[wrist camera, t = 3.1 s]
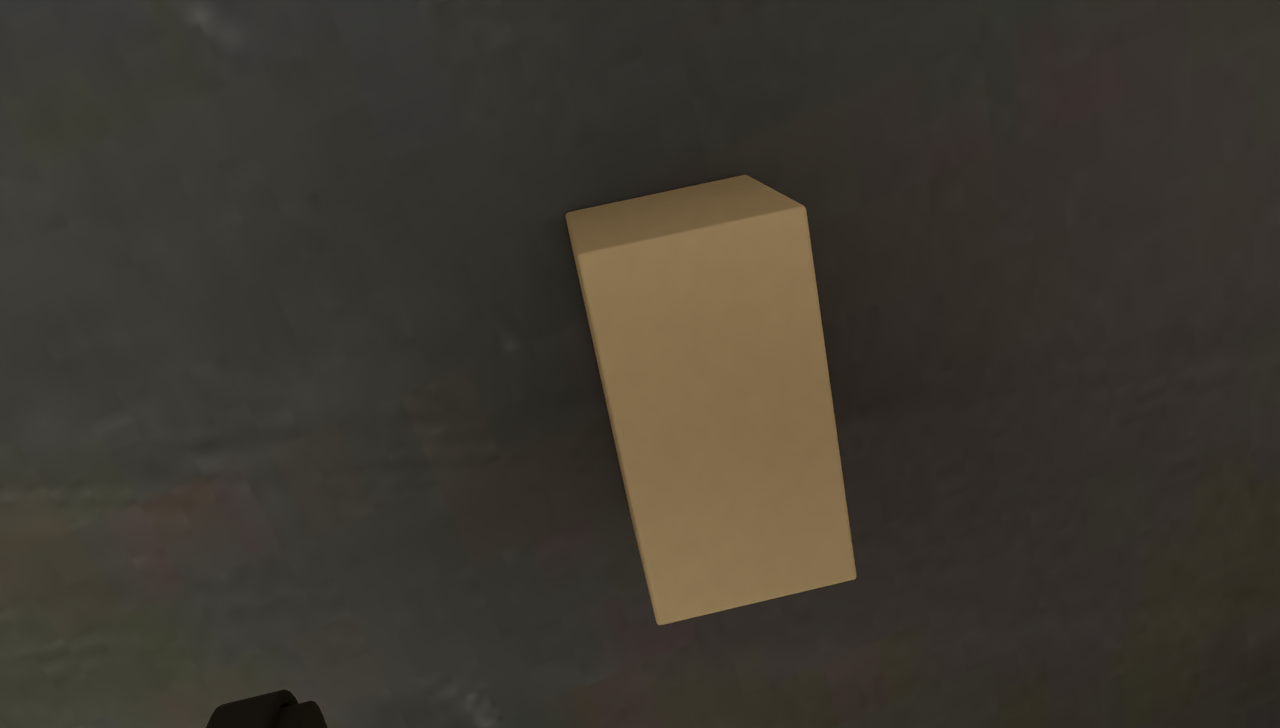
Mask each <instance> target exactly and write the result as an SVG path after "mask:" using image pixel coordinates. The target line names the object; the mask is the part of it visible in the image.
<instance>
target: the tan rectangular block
mask: <svg viewBox="0 0 1280 728" xmlns="http://www.w3.org/2000/svg"><path fill="white" fill-rule="evenodd" d="M565 217H566V222H567V226H568V231H569V236H570V240H571V245H572V249H573V254H574V258H575V263H576V268H577V272H578V277H579V281H580V286H581V290H582V295H583V300H584V304H585V309H586V313H587V318H588V322H589V327H590V332H591V336H592V341H593V345H594V350H595V354H596V359H597V364H598V368H599V373H600V377H601V382H602V386H603V391H604V396H605V400H606V405H607V409H608V414H609V418H610V423H611V428H612V432H613V437H614V441H615V446H616V450H617V455H618V460H619V464H620V469H621V473H622V478H623V482H624V487H625V492H626V496H627V501H628V505H629V510H630V514H631V519H632V523H633V527H634V531H635V536H636V540H637V544H638V548H639V552H640V556H641V561H642V565H643V569H644V573H645V577H646V581H647V586H648V590H649V594H650V598H651V602H652V606H653V611H654V615H655V619H656V622H657V624H658V625H664V624H668V623H672V622H676V621H681V620H685V619H689V618H693V617H697V616H702V615H706V614H710V613H714V612H719V611H723V610H727V609H731V608H736V607H740V606H744V605H748V604H753V603H757V602H761V601H765V600H769V599H774V598H778V597H782V596H786V595H791V594H795V593H799V592H803V591H808V590H812V589H816V588H820V587H824V586H829V585H833V584H837V583H841V582H846V581H850V580H854V579H856V569H855V561H854V554H853V547H852V540H851V532H850V525H849V518H848V510H847V503H846V496H845V489H844V481H843V474H842V467H841V459H840V452H839V445H838V438H837V430H836V423H835V416H834V409H833V401H832V394H831V387H830V379H829V372H828V365H827V358H826V350H825V343H824V336H823V328H822V321H821V314H820V307H819V299H818V292H817V285H816V278H815V270H814V263H813V256H812V248H811V241H810V234H809V227H808V219H807V212H806V208H805V206H803V205H801V204H799V203H798V202H796V201H794V200H792V199H790V198H788V197H787V196H785V195H783V194H781V193H779V192H777V191H775V190H774V189H772V188H770V187H768V186H766V185H764V184H762V183H761V182H759V181H757V180H755V179H753V178H751V177H750V176H748V175H741V176H736V177H731V178H727V179H722V180H717V181H713V182H708V183H703V184H699V185H694V186H689V187H684V188H680V189H675V190H670V191H666V192H661V193H656V194H652V195H647V196H642V197H638V198H633V199H628V200H623V201H619V202H614V203H609V204H605V205H600V206H595V207H591V208H586V209H581V210H576V211H572V212H568V213H566V216H565Z"/></svg>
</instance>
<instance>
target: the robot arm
mask: <svg viewBox="0 0 1280 728" xmlns="http://www.w3.org/2000/svg"><path fill="white" fill-rule="evenodd" d="M206 728H327V726H326V723H325V720H324V717H323V715H322V713H321V710H320V708H319V707H318V705H317V704H316V703H315V702H313V701H308V702H304V703H300V704H298V702H297V700H296V698H295V697H294V696H293V694H292V693H291V692H290V691H287V690H281V691H277V692H272V693H268V694H264V695H260V696H256V697H252V698H248V699H243V700H239V701H235V702H231V703H227V704H223V705H221V706H219V707H217V708H216V710H215V711H214V713H213V714H212V716H211V718H210V720H209V723H208V725H207V727H206Z"/></svg>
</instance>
